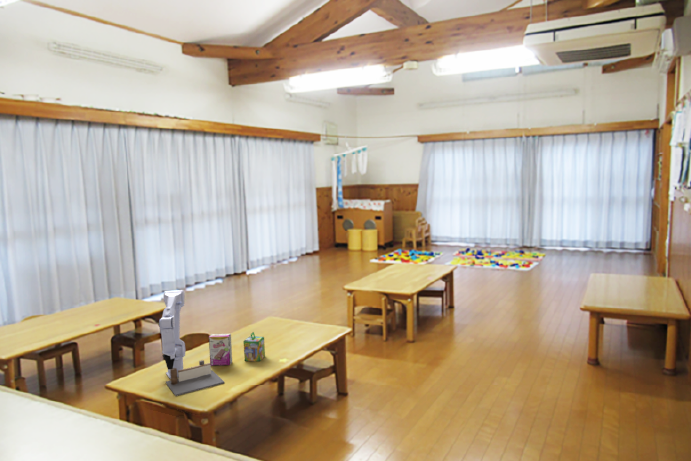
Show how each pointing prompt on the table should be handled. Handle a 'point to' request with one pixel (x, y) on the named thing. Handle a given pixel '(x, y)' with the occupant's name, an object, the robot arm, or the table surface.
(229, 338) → the candy bar box
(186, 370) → the gate
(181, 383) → the mat
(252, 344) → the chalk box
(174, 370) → the gate posts
